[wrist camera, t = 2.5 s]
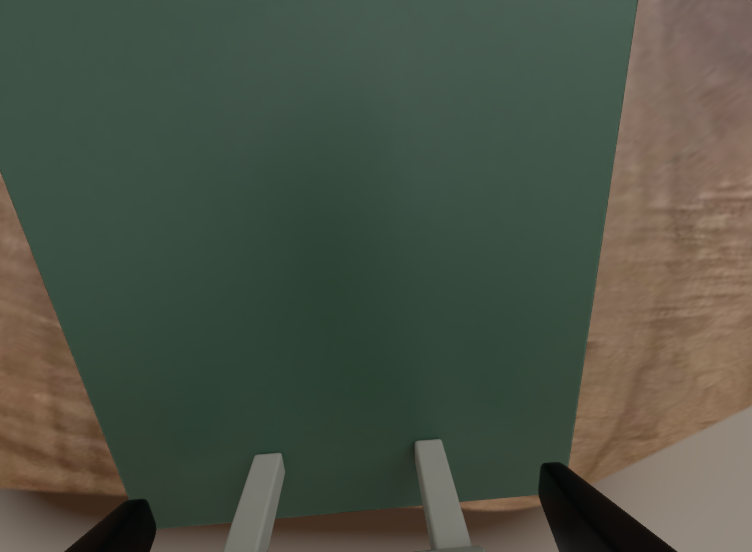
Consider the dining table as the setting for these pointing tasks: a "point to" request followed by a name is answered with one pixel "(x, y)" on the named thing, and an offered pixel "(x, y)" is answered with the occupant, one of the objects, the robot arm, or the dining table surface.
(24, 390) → the dining table surface
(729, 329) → the dining table surface
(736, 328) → the dining table surface
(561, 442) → the lid
